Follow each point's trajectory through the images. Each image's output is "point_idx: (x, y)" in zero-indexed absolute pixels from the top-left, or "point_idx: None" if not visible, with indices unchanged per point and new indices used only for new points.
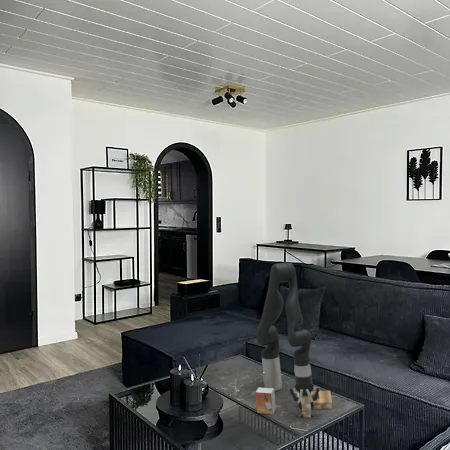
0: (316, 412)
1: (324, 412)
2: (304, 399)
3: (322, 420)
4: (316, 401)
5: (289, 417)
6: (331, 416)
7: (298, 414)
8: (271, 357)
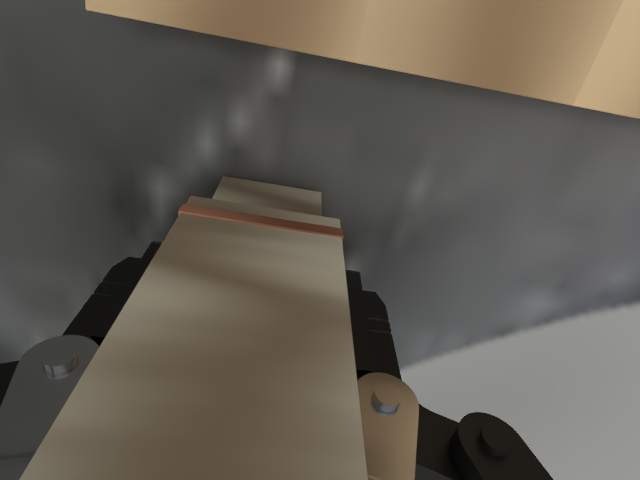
0: (413, 172)
1: (518, 194)
2: None
3: (416, 342)
4: (531, 27)
5: (25, 220)
6: (548, 293)
7: (148, 171)
8: None
